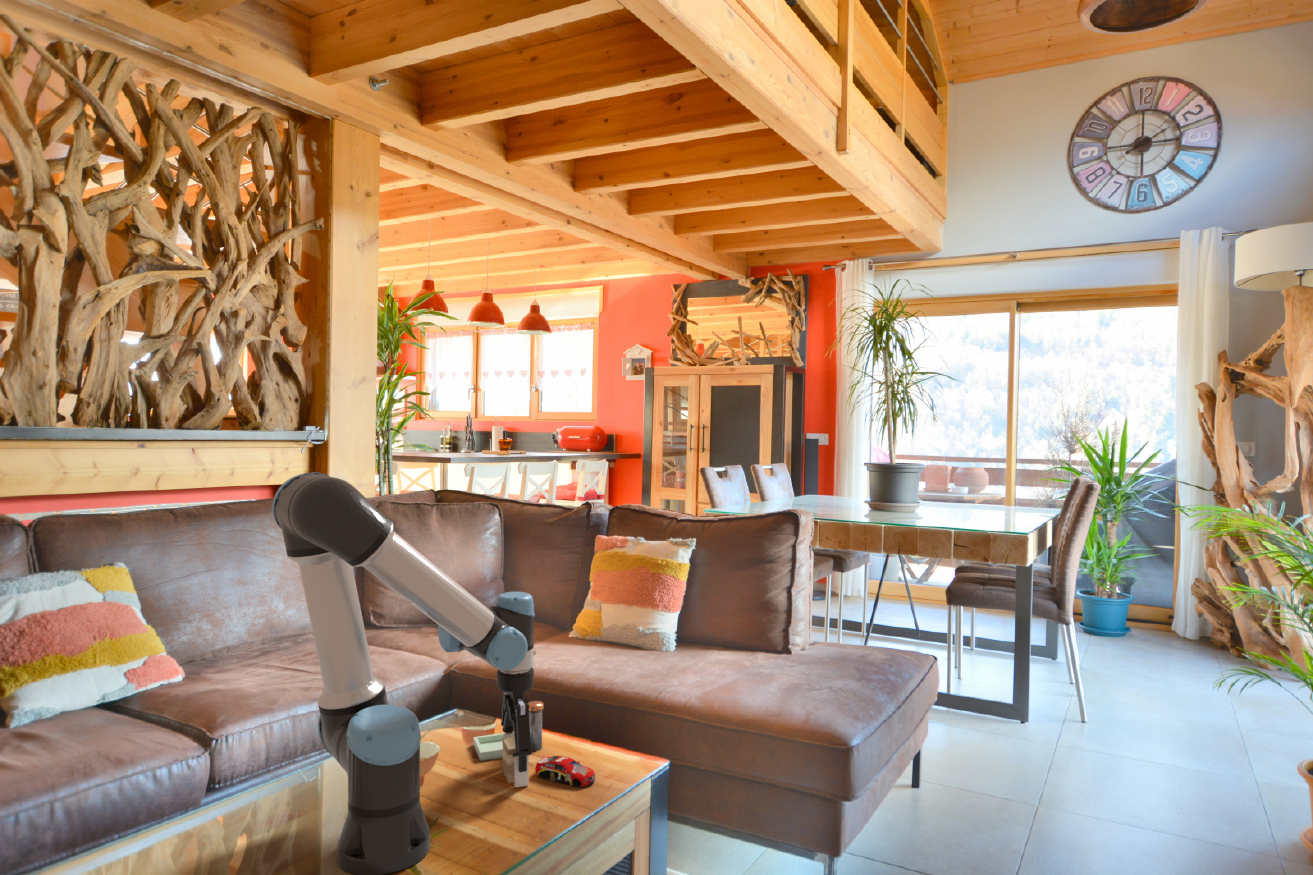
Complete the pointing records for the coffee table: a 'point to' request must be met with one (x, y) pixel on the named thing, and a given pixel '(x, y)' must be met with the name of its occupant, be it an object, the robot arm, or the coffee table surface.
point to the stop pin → (535, 724)
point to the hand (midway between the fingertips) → (515, 774)
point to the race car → (564, 771)
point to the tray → (489, 746)
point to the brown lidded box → (508, 758)
